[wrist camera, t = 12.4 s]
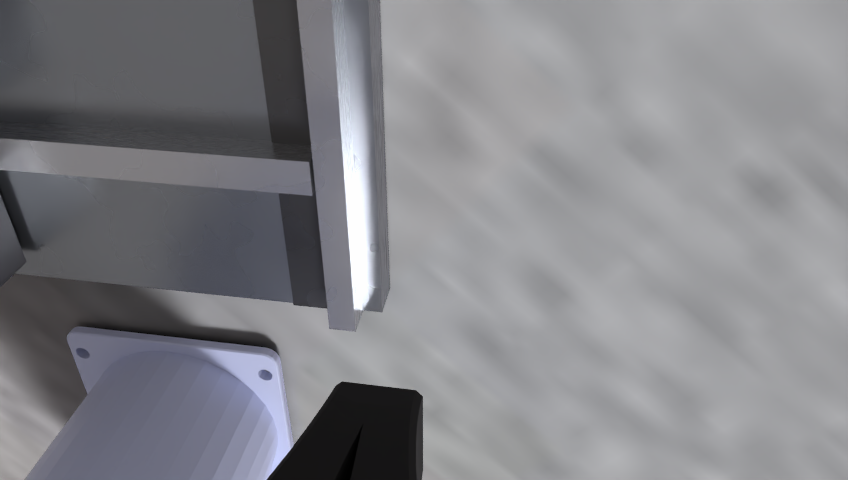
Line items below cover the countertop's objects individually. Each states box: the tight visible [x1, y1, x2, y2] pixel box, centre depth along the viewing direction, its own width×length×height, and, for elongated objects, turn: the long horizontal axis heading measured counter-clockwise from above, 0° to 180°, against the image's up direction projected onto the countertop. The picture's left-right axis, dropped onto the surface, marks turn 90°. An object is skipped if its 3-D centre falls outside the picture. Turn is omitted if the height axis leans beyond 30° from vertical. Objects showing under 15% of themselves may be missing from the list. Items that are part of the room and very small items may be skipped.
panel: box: [0, 0, 390, 332], centre depth 19 cm, size 16×20×2 cm
